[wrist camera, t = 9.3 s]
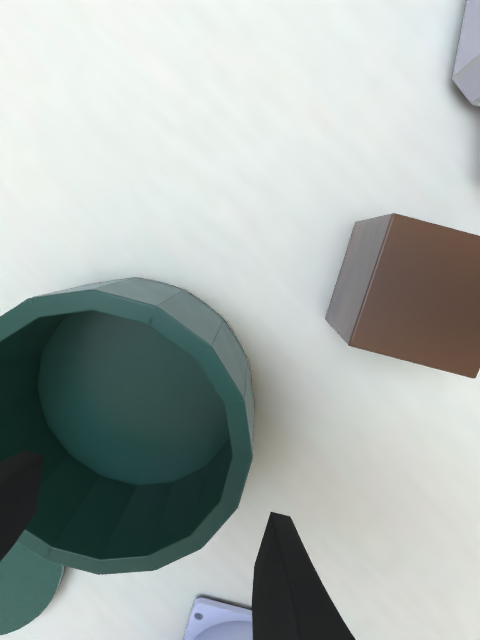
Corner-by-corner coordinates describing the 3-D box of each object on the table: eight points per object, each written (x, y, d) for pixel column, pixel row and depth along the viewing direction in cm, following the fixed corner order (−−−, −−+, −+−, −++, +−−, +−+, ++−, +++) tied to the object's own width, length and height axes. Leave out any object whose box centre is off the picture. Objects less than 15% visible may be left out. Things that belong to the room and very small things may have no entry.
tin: (221, 514, 21) (209, 604, 16) (16, 460, 21) (-65, 532, 16) (279, 313, 19) (288, 340, 13) (45, 251, 19) (-39, 254, 13)
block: (418, 344, 19) (475, 379, 14) (324, 319, 19) (348, 345, 14) (455, 247, 18) (531, 249, 13) (355, 221, 18) (392, 212, 13)
